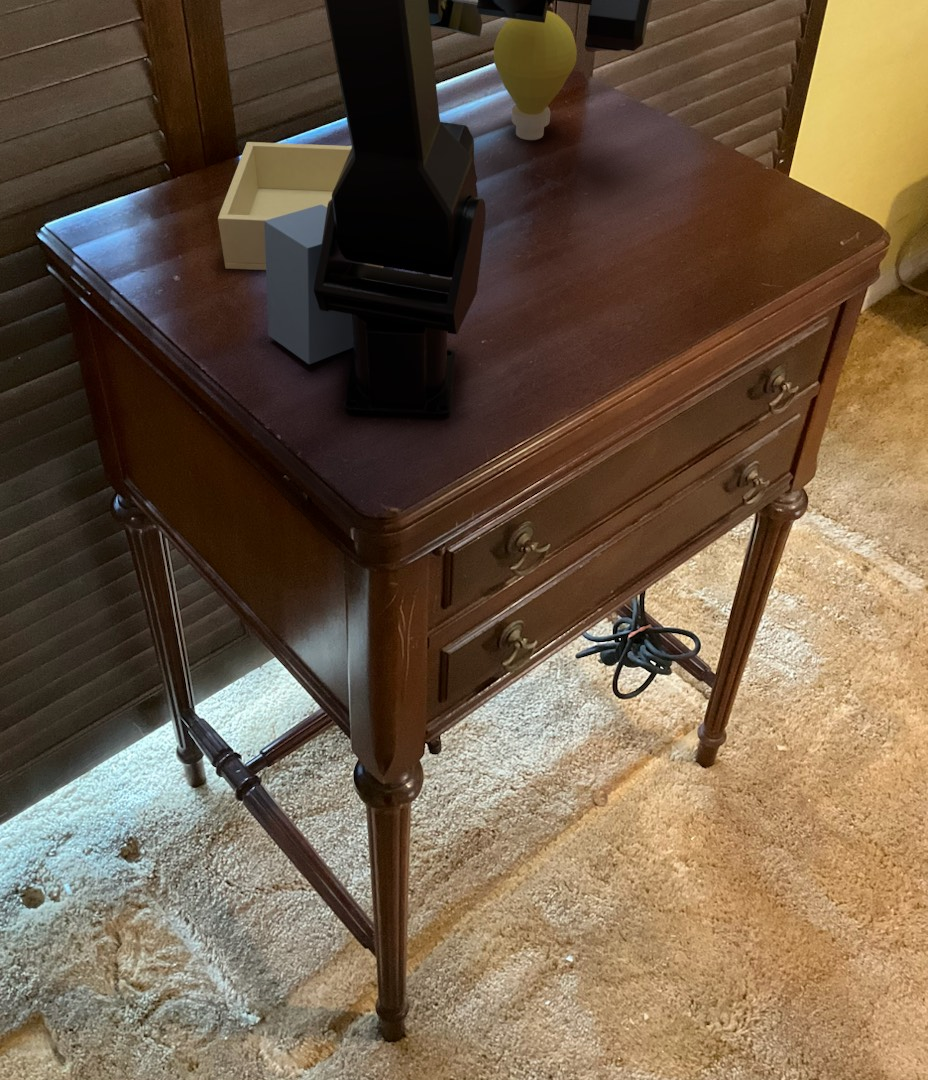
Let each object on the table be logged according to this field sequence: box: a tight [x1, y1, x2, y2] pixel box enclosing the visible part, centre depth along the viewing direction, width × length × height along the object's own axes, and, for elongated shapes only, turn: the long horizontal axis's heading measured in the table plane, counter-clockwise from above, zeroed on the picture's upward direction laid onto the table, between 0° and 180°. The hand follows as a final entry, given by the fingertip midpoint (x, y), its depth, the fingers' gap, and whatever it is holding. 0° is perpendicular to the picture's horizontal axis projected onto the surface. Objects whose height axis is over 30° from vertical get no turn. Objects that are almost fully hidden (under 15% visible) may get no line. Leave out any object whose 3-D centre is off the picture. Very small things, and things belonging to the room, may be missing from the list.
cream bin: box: [217, 141, 385, 271], centre depth 81 cm, size 11×11×4 cm
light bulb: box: [493, 10, 578, 141], centre depth 91 cm, size 7×7×10 cm
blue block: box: [264, 205, 365, 365], centre depth 70 cm, size 4×4×8 cm
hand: (534, 37), depth 88 cm, fingers open, 9 cm apart
